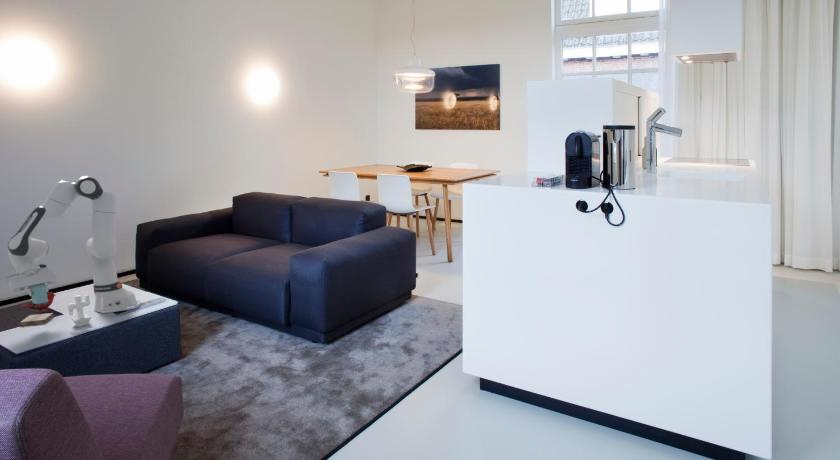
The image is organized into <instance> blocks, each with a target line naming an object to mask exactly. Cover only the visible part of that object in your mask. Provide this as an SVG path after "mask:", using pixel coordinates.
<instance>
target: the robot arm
mask: <svg viewBox="0 0 840 460" xmlns="http://www.w3.org/2000/svg"><path fill="white" fill-rule="evenodd" d="M78 197H84V198H87V199H89V200H91V203H92V207H91V217H90V218H91V219H90V227H91V228H90V229H91V237H90V238H89V239H88V240H87V241H86V242H85V249H86V252H87V257H88V261H89V264H90V267H91V271H92V279H93V293H94V296H95V304H94V312H97V313H101V314H108V313H109V314H110V313H114V312H121V311H122V312H123V311H128V310H134V309H137V308H139V307H140V306H141V304H142V302H141V300H139V299H138V300H137V298H136V295H135V293H134V292H133V291H131V290H128V289H126V288H124V287H123V281H119V280H118V274H117V269H116V264H115V262H114V259H113V258H114V257H115V256H116V254H117V252H118V251H117V250H118V249H117V242H116V241H117V240H116V229H115V227H116V212H117V202H116V195H115V193H113V192H111V191H110V190H104V189H103V188H102V186H101V184H100V181H98V179H97V178H96V177H93V176H91V175H83V176H81V177H79V178H78V179H77V180H75V181H73V182H70V181H67V180H60V181H58V182H57V183H56V184H55V185H54V186H53V187H52V188H51V190H50V192H49V193H48V195H47V198H46V199H45V200H44V201H43V203H42V204H40V205H39V206H38V207H35V208H34V209H33V211H31V213H30V214H29V216H27V218H26V220H25V221H24V222H23V223H22V225H21V227H19V229H18V230H17V232H16V233H15V234H14V235H13V236H12V237H11V238H10V239H9V241H8V243H7V249H8V250H7V255H8V259H9V260H10V263H11V265H12V266H13V267H14V269H15V272H16V273H14V274H8V275H7V276H6V277H5V282H6V283H7V284H8V288H9V290H10V292H12V293H18V292H21V291H24V292H25V293H26V294H28V295H29V297H32V296H33V295H34V293H33V291H31V290H30V287H33V286H37V285H44V286H46V291H47V293H49V289H48V286H50V285H54V284H56V283H57V281H58V276H57V274H56V273H55V271H54V270H53V269H52V268H50V265H49V264H48V263H47V264H46V263H36V262H38V261H40V260H41V259H43V258H44V257H46V256H47V254H48V253H49V244H48V243H47V241H45V240H43V239H39V238H34V237H32V236H33V234H34V233H35V232H36V230H37V229H38V227H39V226H40V225H41V224H42V223H43V222H46V221H51V220H57V219H58V220H59V219H61V218H64V217H65V216H67V214H68V213H69V211H70V209H71V207H72V204H73V203H74V201H75V200H76V199H77V198H78ZM140 302H141V303H140ZM138 303H140V304H139V305H136V304H138ZM134 305H135V306H136V307H133V308H127V307H131V306H134ZM125 308H126V309H125Z"/></svg>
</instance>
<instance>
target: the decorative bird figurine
mask: <svg viewBox="0 0 840 460" xmlns="http://www.w3.org/2000/svg"><path fill="white" fill-rule="evenodd" d="M55 296H56V294H55V293H54V292H52V291H51V292H47V298H48V302H44V303H40V304H35V303H32V302H31V303H29V304H23V305H18V307H20V308H21V307H22V308H29V309H31V310H35V311H36V310H37V311H39V314H42V313H43V312H44V313H45V312H46V313H47V312H48V311H49V309H48V308H49V307H50V306H52V304H53V302H54V298H55ZM45 309H46V310H45ZM47 309H48V310H47Z"/></svg>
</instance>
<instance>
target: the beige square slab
mask: <svg viewBox="0 0 840 460" xmlns="http://www.w3.org/2000/svg"><path fill="white" fill-rule="evenodd" d="M54 314H55V313H54V312H51V313H50V312H49V313H47V312H46V313H38V314H29V315H27V316H26V317H25V318H24V319H22V320H21V321H20V326H21V327H22V326H23V327H24V326H32V325H44V324H47V323H48V322H49V321H50V320H52V319H53V318H54V317H55V315H54Z"/></svg>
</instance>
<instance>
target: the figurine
mask: <svg viewBox="0 0 840 460" xmlns="http://www.w3.org/2000/svg"><path fill="white" fill-rule="evenodd" d="M74 300H75V302H73V303H69V304H68V306H67V307H68V308H67V311H68V314H69V315H70V316H72V315H73V314H74V311H73V310H75V309H76V314H77V316H74V317H73V316H72V317H70V319H71V320H72V321H73V323H74V324H75V325H76V326H77V327H78V328H79V327H82V326H87V325H89V323H90V321H91V318H92V316H90V314H87V313H86V314H84V309H83V308H85V307H88V306H90V303H91V302H90V296H89V294H85V296H84V300H82V295H81V294H80V295H78V294H77V295H74Z"/></svg>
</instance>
